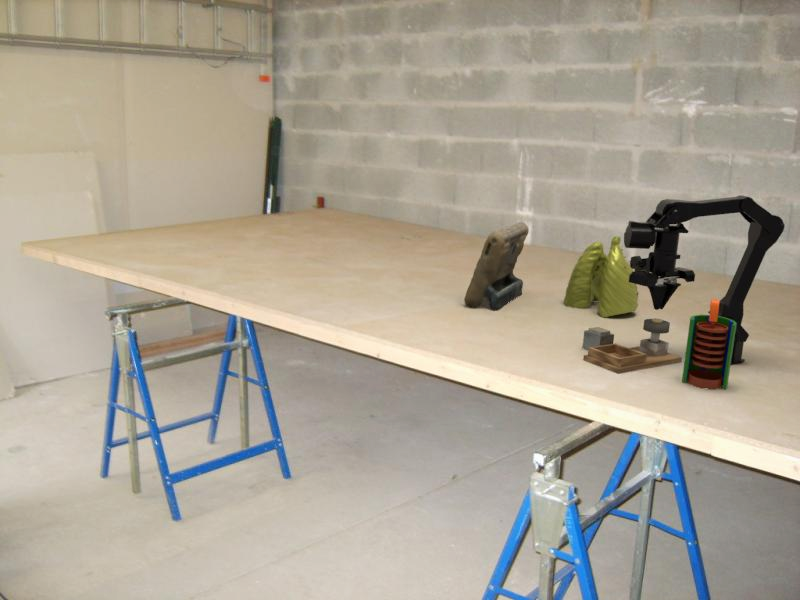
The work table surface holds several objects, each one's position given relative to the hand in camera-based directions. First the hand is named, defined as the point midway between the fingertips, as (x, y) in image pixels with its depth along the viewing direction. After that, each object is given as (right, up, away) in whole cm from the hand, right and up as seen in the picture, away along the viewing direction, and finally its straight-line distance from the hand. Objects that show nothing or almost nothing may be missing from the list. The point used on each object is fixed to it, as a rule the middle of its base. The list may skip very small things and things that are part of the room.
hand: (658, 309), depth 211 cm
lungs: (-2, -1, +54) cm, 54 cm away
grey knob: (0, -9, +2) cm, 9 cm away
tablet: (-35, +2, +61) cm, 70 cm away
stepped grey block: (-14, -11, +7) cm, 19 cm away
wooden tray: (-7, -13, -1) cm, 15 cm away
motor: (+6, -18, -16) cm, 24 cm away
